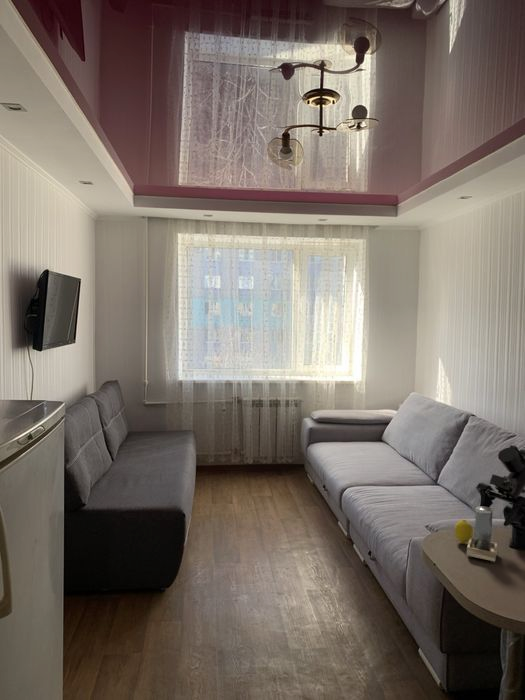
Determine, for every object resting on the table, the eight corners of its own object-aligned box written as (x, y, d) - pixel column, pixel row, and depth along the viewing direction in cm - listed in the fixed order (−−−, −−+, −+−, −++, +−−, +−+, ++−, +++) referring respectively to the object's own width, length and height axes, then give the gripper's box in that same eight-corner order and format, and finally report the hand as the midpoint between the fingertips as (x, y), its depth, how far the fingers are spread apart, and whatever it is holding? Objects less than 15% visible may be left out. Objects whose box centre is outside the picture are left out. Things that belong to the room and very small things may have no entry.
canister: (474, 545, 166) (476, 505, 165) (491, 548, 164) (493, 508, 163) (473, 551, 161) (475, 510, 161) (490, 554, 159) (492, 512, 158)
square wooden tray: (469, 548, 168) (469, 537, 168) (496, 553, 165) (497, 543, 164) (466, 558, 161) (467, 547, 161) (494, 564, 157) (495, 553, 157)
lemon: (454, 545, 170) (455, 521, 169) (453, 539, 175) (454, 515, 175) (472, 548, 168) (474, 524, 168) (471, 541, 174) (472, 517, 173)
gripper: (480, 458, 173) (455, 495, 169) (532, 473, 157) (506, 515, 152) (495, 478, 178) (471, 515, 173) (547, 495, 161) (522, 537, 157)
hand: (491, 520), depth 164 cm, fingers open, 9 cm apart
